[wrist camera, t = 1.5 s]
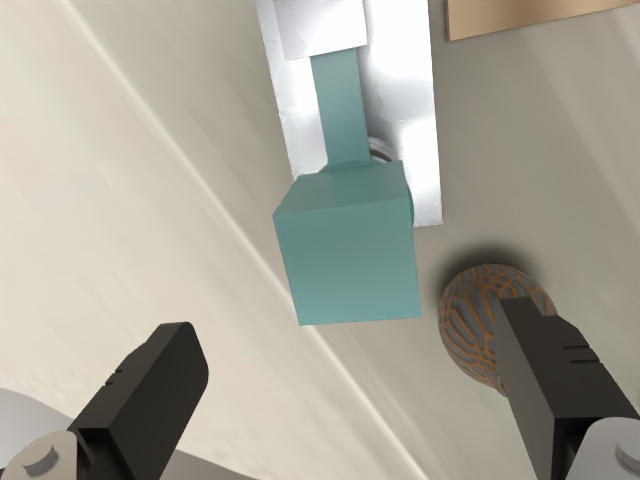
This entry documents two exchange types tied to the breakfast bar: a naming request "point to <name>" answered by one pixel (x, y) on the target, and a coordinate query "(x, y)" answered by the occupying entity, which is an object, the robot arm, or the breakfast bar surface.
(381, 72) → the post
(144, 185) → the breakfast bar surface
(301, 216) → the teal block with handle
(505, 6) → the wooden coaster
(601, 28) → the breakfast bar surface
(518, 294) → the vase
